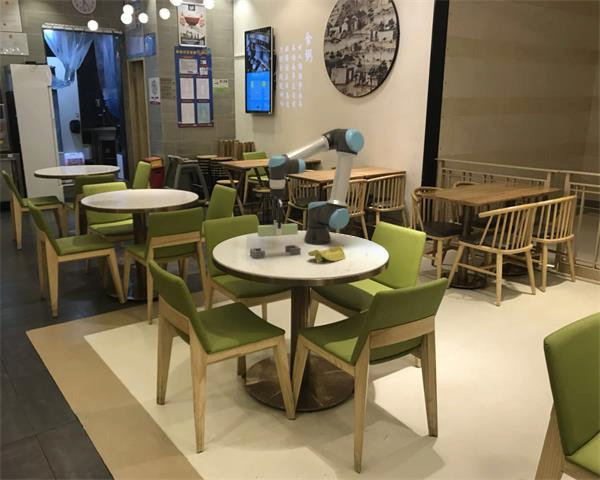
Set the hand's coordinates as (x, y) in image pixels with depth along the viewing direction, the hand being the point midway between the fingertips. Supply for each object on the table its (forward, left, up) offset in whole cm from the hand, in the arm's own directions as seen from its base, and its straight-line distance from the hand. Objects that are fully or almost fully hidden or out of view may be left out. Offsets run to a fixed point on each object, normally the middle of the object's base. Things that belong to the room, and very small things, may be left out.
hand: (277, 233), depth 261 cm
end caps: (0, -3, -12) cm, 13 cm away
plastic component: (-21, +13, -12) cm, 27 cm away
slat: (0, 0, -1) cm, 1 cm away
